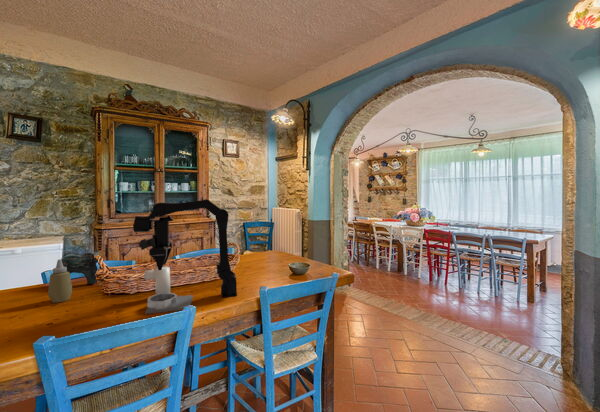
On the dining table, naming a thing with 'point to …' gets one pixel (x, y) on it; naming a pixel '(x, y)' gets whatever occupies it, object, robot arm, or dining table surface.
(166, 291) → the duct elbow
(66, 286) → the squeeze bottle
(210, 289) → the dining table surface
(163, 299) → the duct board
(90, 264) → the spray gun
